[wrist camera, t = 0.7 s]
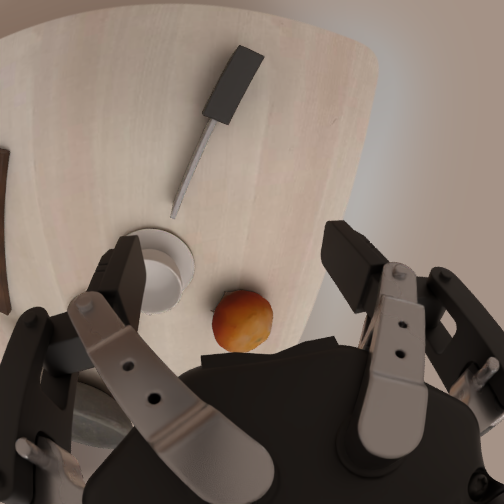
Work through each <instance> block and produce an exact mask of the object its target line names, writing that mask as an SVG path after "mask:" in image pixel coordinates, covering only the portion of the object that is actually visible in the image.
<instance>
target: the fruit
mask: <svg viewBox="0 0 504 504" xmlns="http://www.w3.org/2000/svg"><path fill="white" fill-rule="evenodd" d="M210 311H212V310H210ZM212 312H214V315H213V320H212V329H213V333H214V336H215V339H216V341H217V342H218V344H219V345H220V346H221V347H223V348H224V349H226V350H227V351H229V352H241V353H242V352H249V351H250V350H253V349H255V348H256V347H257V346H258V345H260V344H261V343H263V342H264V341H266V340H267V338H268V336H269V334H270V332H271V327H272V320H273V311H272V308H271V305H270V303H269V302H268V301H267V300H266V299H265V298H263V297H262V296H261V295H259V294H257V293H255V292H250V291H245V290H238V291H233V292H225V294H224V296H223V298H222V300H221V301H220V303H219V304H218V305H217V307H216V309H215V311H212Z"/></svg>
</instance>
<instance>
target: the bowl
mask: <svg viewBox="0 0 504 504" xmlns="http://www.w3.org/2000/svg"><path fill="white" fill-rule="evenodd" d="M132 428H133V426H132V423H131V421H130V419H129V418H128V417H127V415H126V414H125V412H124V411H123V410H122V408H121V407H120V405H119V404H118V403H117V402H116V401H115V400H114V399H113V398H111V397H110V396H109V395H107V394H106V393H104V392H102V391H101V390H99V389H96V388H94V387H92V386H90V385H87V384H83V383H80V382H77V388H76V395H75V403H74V412H73V422H72V436H71V441H74V442H78V443H81V444H85V445H88V446H93V447H98V448H108V449H115V448H116V447H117V446H118V444H119V443H120V442H121V441H122V440H123V439H124V437H125V436H126V435H127V434H128V433H129V431H130V430H131V429H132Z"/></svg>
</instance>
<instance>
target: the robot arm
mask: <svg viewBox="0 0 504 504" xmlns="http://www.w3.org/2000/svg"><path fill="white" fill-rule="evenodd" d="M321 260H322V264H323V266H324V267H325V269H326V270H327V272H328V273H329V275H330V276H331V278H332V279H333V281H334V282H335V284H336V285H337V287H338V288H339V290H340V291H341V293H342V294H343V296H344V298H345V299H346V301H347V302H348V304H349V305H350V307H351V309H352V310H353V312H354V313H355V314H356V313H361V312H366V313H367V316H366V318H365V321H364V325H363V330H362V334H361V338H360V342H359V346H358V348H356V347H352V346H346V345H338V343H337V341H336V339H335V337H334V336H331V337H326V338H321V339H316V340H311V341H305V342H302V343H300V344H298V345H295V346H293V347H291V348H288V349H286V350H283V351H281V352H278V353H275V354H254V353H241V352H232V353H222V354H212V355H201V365H202V366H199V367H196V368H193V369H191V370H189V371H187V372H185V373H183V374H181V375H180V376H179V377H177V376H176V375H175V374H174V373H173V372H172V371H171V370H170V369H169V368H168V367H167V366H166V364H165V363H164V362H163V361H162V360H161V359H160V358H159V357H158V356H157V355H156V354H155V353H154V351H153V350H152V349H151V348H150V347H149V346H148V345H147V344H146V342H145V341H144V340H143V339H142V338H141V337H140V335H139V334H138V333H137V331H138V325H139V318H140V312H141V306H142V301H143V295H144V290H145V285H146V267H145V263H144V258H143V254H142V249H141V244H140V240H139V237H138V235H130V236H121V237H120V238H119V240H118V242H117V244H116V246H115V249H109V250H108V251H107V252H106V253H105V254H104V255H103V256H102V257H101V260H100V262H99V264H98V266H97V268H96V270H95V273H94V275H93V277H92V280H91V282H90V284H89V287H88V289H87V291H86V292H85V293H82V294H80V295H78V296H76V297H75V298H74V299H73V300H72V301H71V302H70V304H69V306H68V309H67V312H65V313H61V314H58V315H55V316H51V317H49V315H48V313H47V311H46V310H45V309H44V308H42V307H33V308H31V309H29V310H27V311H25V312H24V313H23V314H22V315H21V316H20V318H19V319H18V321H17V323H16V326H15V328H14V330H13V333H12V335H11V337H10V340H9V342H8V345H7V348H6V350H5V353H4V356H3V359H2V361H1V364H0V502H2V503H5V504H504V484H502V483H500V482H498V481H496V480H494V479H493V478H492V477H490V476H489V474H488V473H487V471H486V469H485V467H484V463H483V458H482V452H481V443H480V436H483V435H484V434H486V433H487V432H488V431H489V430H491V429H492V428H493V427H495V426H496V425H497V424H498V423H499V422H501V421H502V420H503V419H504V331H503V330H502V329H501V327H500V326H499V325H498V324H497V322H496V321H495V320H494V319H493V317H492V316H491V315H490V314H489V313H488V311H487V310H486V309H485V308H484V306H483V305H482V304H481V303H480V302H479V301H478V300H477V298H476V297H475V296H474V295H473V294H472V293H471V291H470V290H468V288H467V287H466V286H465V285H464V284H463V283H462V282H461V281H460V279H459V278H458V277H457V276H456V275H455V274H454V273H452V272H451V271H450V270H448V269H445V268H442V267H434V268H432V270H431V272H430V274H429V277H417V276H416V275H415V273H414V271H413V270H412V269H411V268H409V267H408V266H406V265H404V264H401V263H397V262H389V261H388V260H387V259H386V258H385V257H384V256H383V255H382V254H381V253H380V251H378V249H377V248H375V246H374V245H373V244H372V243H370V241H369V240H368V239H367V238H366V237H365V236H364V235H362V234H360V233H358V232H356V231H355V230H353V229H352V228H351V227H350V226H349V225H348V224H347V223H346V222H345V221H344V220H338V221H327V222H326V225H325V229H324V236H323V242H322V248H321ZM445 310H447V311H448V313H449V314H450V315H451V316H452V318H453V319H454V320H455V322H456V326H457V330H456V333H455V335H454V336H453V338H452V337H451V335H450V334H449V333H448V331H447V330H446V328H445V327H444V326H443V324H442V323H441V321H440V319H441V318H442V316H443V314H444V312H445ZM425 353H426V355H427V356H428V358H429V360H430V361H431V363H432V365H433V366H434V368H435V370H436V371H437V373H438V375H439V377H440V379H441V380H442V382H443V384H444V386H445V388H446V389H447V391H448V393H449V394H447V393H445V392H443V391H441V390H439V389H437V388H435V387H433V386H431V385H429V384H427V383H425V382H424V366H425V365H424V364H425ZM42 367H44V371H43V375H42V379H41V383H40V375H41V371H42ZM93 367H95V368H96V370H97V372H98V373H99V375H100V377H101V378H102V380H103V381H104V383H105V385H106V386H107V388H108V389H109V391H110V392H111V394H112V395H113V397H114V398H115V400H116V401H117V403H118V404H119V405H120V407H121V408H122V410H123V411H124V412H125V414H126V415H127V417H128V418H129V419H130V421H131V422H132V423H133V425H134V427H133V428H132V429H131V430H130V431H129V433H128V434H127V435H126V436H125V437H124V439H123V440H122V441H121V442H120V443H119V444H118V446H117V447H116V448H115V449H114V450H113V451H112V453H111V454H110V455H109V456H108V457H107V458H106V459H105V461H104V462H103V463H102V464H101V465H100V466H99V468H98V469H97V470H96V471H95V472H94V473H93V474H92V476H91V477H90V478H89V480H88V481H87V483H86V484H85V482H84V480H83V475H82V473H81V468H80V465H79V463H78V461H77V459H76V458H75V457H74V456H73V455H72V454H71V436H72V422H73V412H74V403H75V395H76V388H77V381H78V375H79V371H83V370H86V369H90V368H93Z"/></svg>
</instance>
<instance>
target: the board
mask: <svg viewBox="0 0 504 504" xmlns="http://www.w3.org/2000/svg"><path fill="white" fill-rule="evenodd" d="M9 154H10V151H8V150H4V149H1V148H0V312H1V313H3V314H6V315H9V313H10V311H11V304H10V298H9V291H8V283H7V274H6V263H5V247H4V205H5V189H6V178H7V169H8V161H9Z"/></svg>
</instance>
